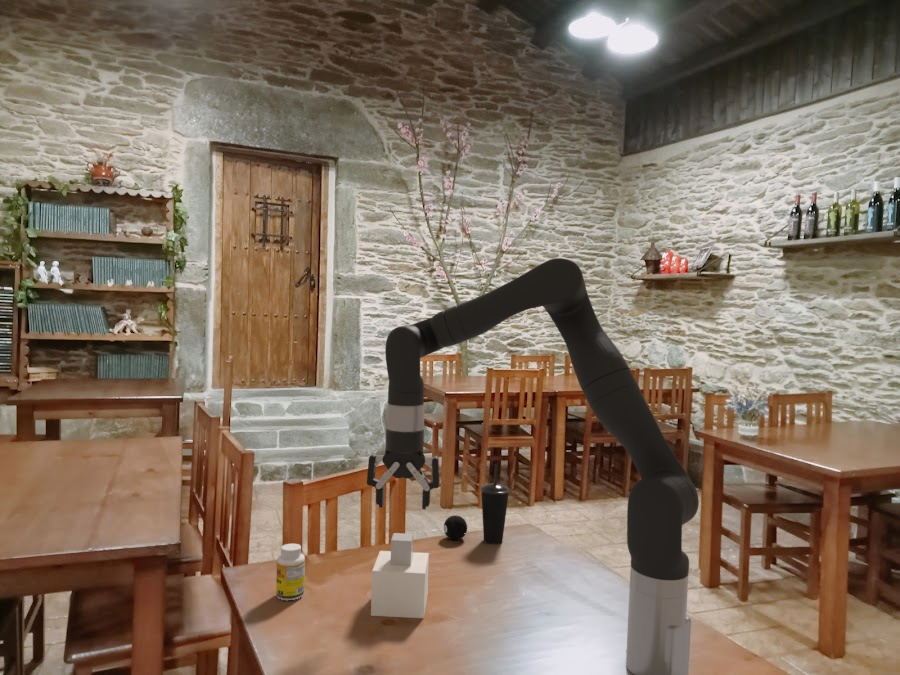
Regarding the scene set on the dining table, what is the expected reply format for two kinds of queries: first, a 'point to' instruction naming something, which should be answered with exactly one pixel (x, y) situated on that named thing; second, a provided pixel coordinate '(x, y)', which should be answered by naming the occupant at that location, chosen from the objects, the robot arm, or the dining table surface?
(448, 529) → the billiard ball
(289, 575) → the supplement bottle
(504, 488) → the drinking cup
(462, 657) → the dining table surface
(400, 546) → the white block with stub
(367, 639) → the dining table surface
